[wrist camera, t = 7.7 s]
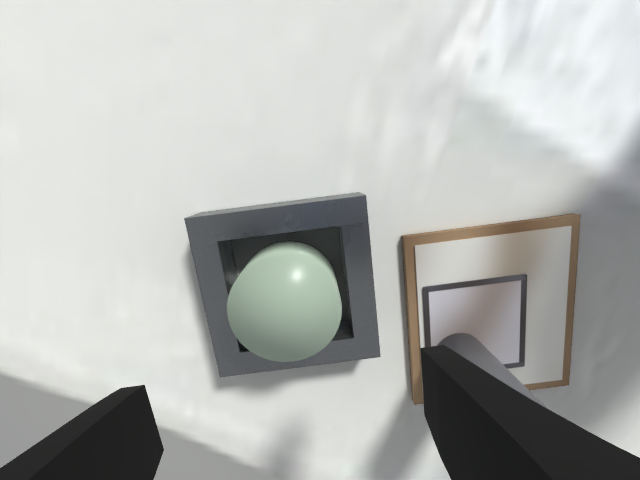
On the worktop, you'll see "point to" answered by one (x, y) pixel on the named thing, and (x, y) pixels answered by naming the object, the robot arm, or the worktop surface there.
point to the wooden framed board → (496, 294)
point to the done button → (285, 302)
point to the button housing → (225, 225)
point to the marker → (484, 360)
